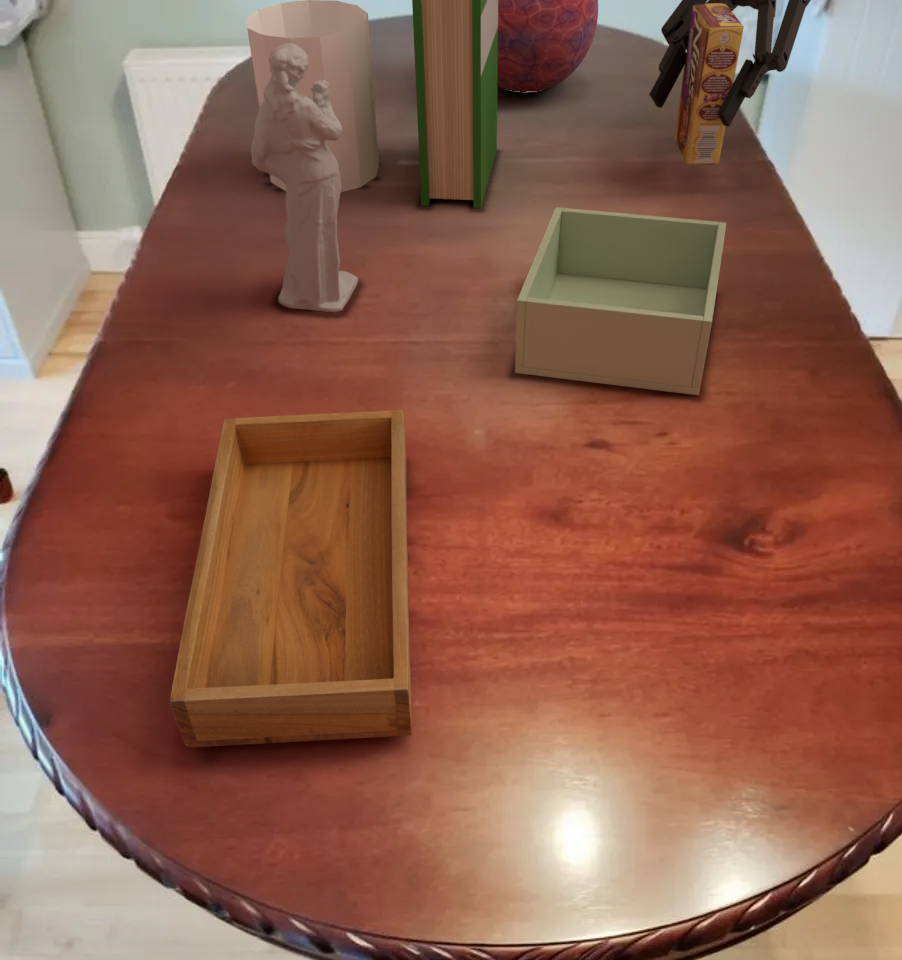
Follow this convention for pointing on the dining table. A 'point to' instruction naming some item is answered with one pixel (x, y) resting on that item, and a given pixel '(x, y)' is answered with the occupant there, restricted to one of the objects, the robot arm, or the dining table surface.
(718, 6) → the candy box
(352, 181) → the container
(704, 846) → the dining table surface
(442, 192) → the hardback book
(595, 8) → the decorative sphere
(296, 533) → the tray
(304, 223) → the figurine
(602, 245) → the bin
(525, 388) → the dining table surface
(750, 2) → the robot arm
